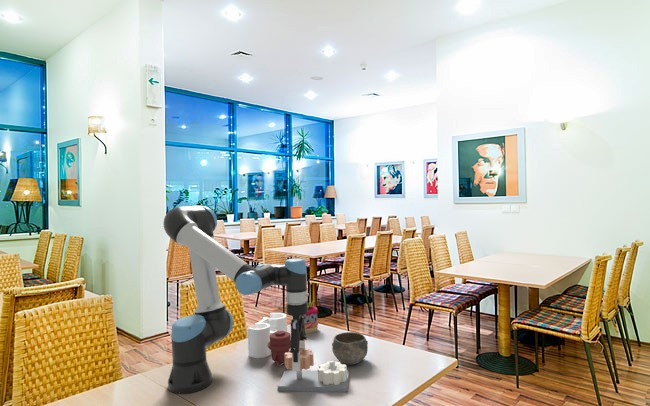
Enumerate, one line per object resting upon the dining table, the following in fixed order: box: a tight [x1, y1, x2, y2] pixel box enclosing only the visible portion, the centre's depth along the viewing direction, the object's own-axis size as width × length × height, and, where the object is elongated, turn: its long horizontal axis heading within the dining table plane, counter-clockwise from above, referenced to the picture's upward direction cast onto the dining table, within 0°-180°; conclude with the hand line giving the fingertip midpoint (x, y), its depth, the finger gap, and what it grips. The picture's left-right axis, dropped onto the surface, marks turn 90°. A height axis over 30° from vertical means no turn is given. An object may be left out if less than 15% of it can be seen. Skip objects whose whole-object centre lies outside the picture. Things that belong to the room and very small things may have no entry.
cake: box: [304, 300, 319, 334], centre depth 202 cm, size 10×11×15 cm
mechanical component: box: [268, 331, 291, 367], centre depth 163 cm, size 12×10×10 cm
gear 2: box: [317, 361, 348, 385], centre depth 143 cm, size 10×10×4 cm
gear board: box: [277, 360, 350, 393], centre depth 144 cm, size 24×13×8 cm, turn 84°
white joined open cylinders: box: [247, 312, 288, 359], centre depth 180 cm, size 25×10×12 cm, turn 161°
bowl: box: [331, 331, 369, 366], centre depth 162 cm, size 14×15×10 cm
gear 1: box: [284, 348, 315, 370], centre depth 144 cm, size 10×10×4 cm
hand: (299, 364), depth 144 cm, fingers closed on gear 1, 10 cm apart
